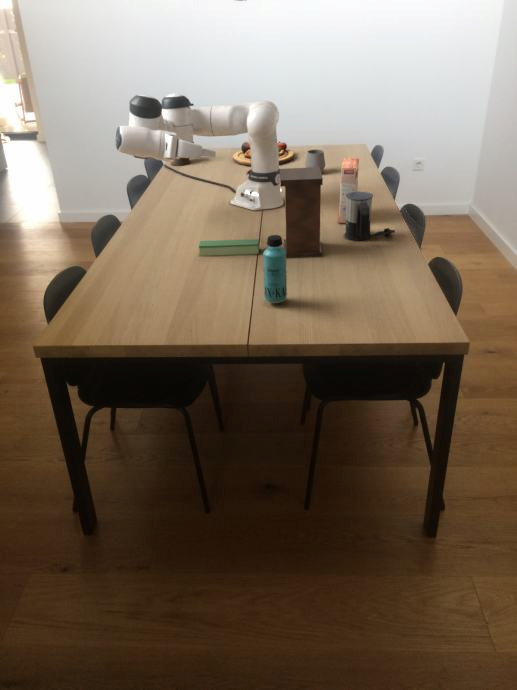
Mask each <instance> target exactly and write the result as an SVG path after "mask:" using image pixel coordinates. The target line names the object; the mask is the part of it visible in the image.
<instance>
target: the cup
mask: <svg viewBox="0 0 517 690" xmlns="http://www.w3.org/2000/svg"><path fill="white" fill-rule="evenodd" d="M305 157H306V158H305V168H312V167H320V170H321V174H322V173H323V172H324V170H325V167H326V159H325V151H324V150H322V149H309V150H307V152H306V156H305Z"/></svg>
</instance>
